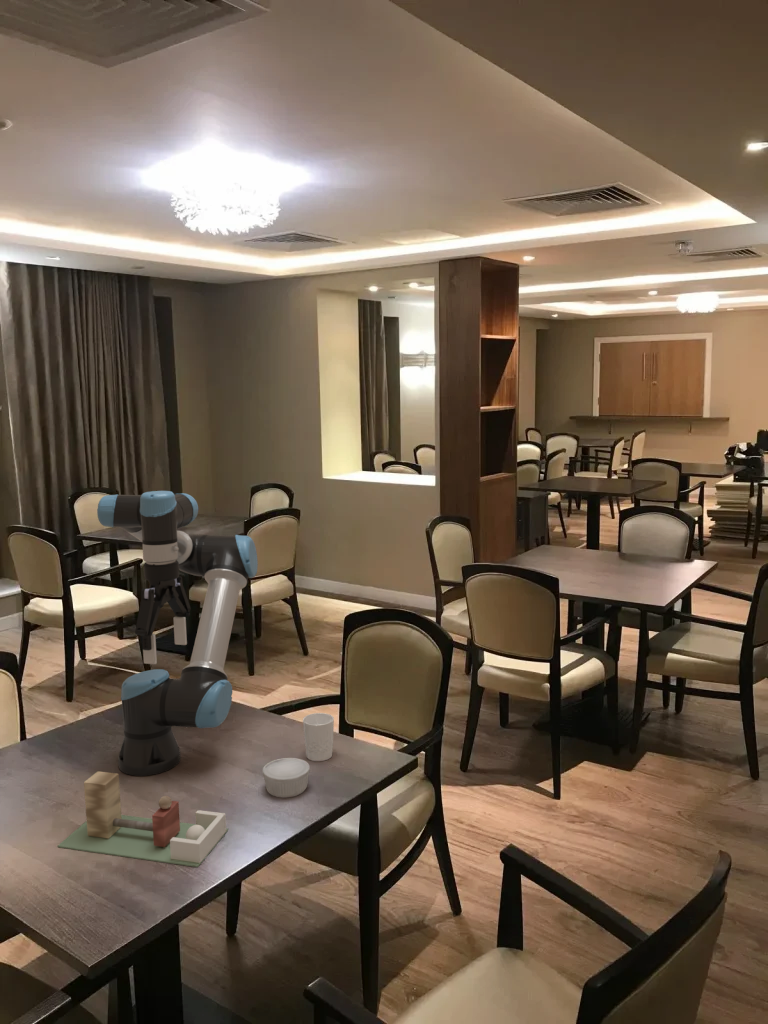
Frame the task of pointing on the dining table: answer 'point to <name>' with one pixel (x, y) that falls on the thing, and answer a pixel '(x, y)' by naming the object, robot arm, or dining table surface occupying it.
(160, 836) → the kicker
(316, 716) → the white cup
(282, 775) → the ramekin
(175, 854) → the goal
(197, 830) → the ball
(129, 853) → the pitch
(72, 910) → the dining table surface
